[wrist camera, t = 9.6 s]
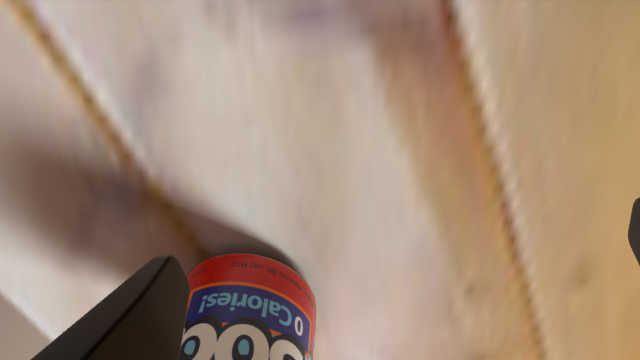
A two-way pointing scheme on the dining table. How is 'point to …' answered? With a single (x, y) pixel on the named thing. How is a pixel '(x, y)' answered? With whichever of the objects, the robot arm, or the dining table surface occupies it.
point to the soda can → (248, 311)
